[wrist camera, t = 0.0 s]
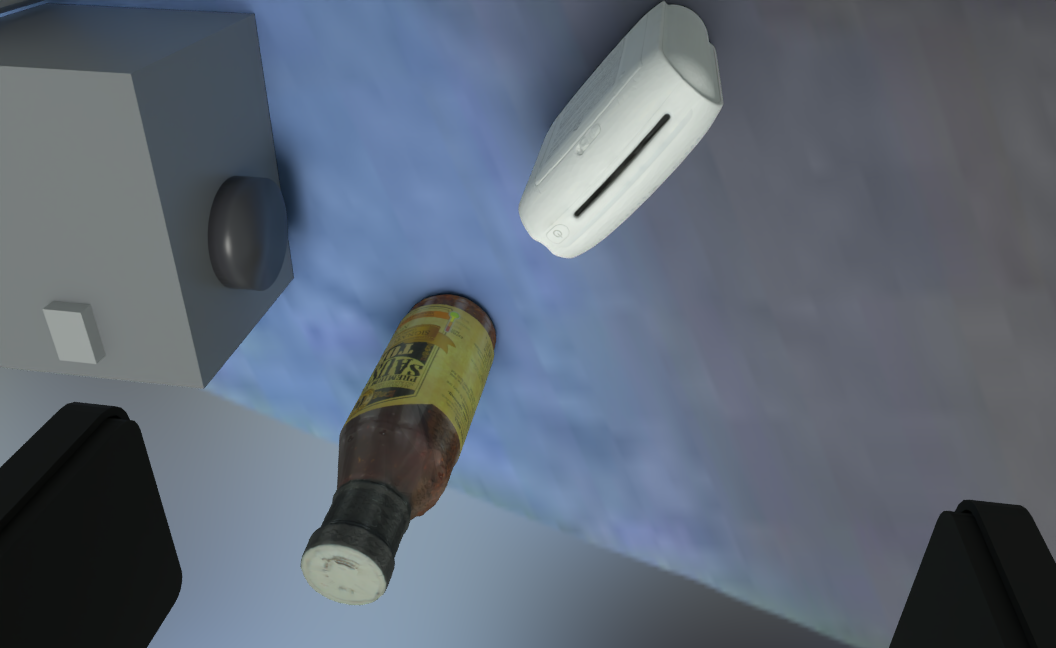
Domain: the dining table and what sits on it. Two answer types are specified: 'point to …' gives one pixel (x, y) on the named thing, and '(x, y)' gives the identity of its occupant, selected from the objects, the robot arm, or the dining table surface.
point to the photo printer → (623, 132)
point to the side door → (15, 4)
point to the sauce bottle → (400, 445)
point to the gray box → (135, 192)
